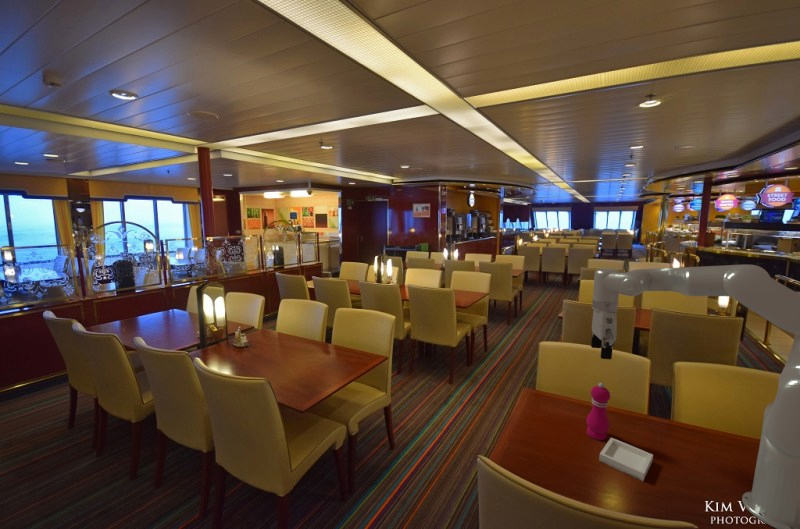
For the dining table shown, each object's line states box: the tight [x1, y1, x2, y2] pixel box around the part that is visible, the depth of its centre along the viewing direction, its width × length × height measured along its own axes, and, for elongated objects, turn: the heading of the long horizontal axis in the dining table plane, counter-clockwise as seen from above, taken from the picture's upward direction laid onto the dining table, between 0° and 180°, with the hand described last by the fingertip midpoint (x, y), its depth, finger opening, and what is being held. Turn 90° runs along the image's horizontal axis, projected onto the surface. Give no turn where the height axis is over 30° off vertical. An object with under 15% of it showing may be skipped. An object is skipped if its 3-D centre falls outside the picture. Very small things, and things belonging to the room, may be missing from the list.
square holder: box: [598, 437, 654, 482], centre depth 111 cm, size 12×12×2 cm
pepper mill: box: [585, 382, 611, 441], centre depth 123 cm, size 7×7×20 cm
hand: (600, 353), depth 120 cm, fingers open, 9 cm apart
